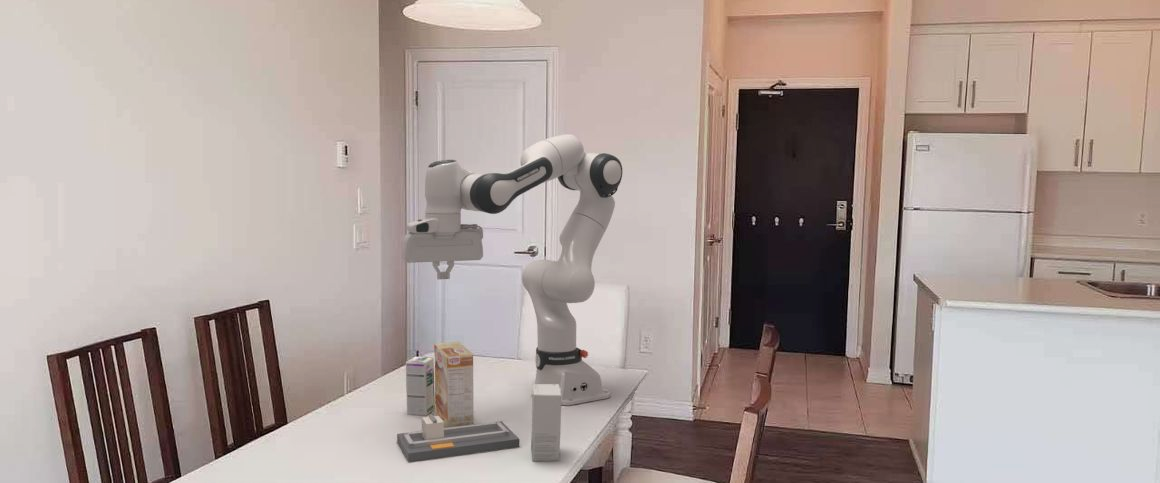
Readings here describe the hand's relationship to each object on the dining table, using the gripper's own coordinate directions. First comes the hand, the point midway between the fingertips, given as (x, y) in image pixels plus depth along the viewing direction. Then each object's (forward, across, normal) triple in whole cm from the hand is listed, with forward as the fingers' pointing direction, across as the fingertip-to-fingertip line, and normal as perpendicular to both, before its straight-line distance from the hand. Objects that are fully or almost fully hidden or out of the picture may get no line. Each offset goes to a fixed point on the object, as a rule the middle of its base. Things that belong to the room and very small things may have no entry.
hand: (443, 279), depth 201 cm
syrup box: (+37, +4, -10) cm, 39 cm away
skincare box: (+37, -16, +32) cm, 52 cm away
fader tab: (+35, +7, +18) cm, 40 cm away
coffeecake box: (+37, -2, +2) cm, 37 cm away
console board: (+37, +1, +18) cm, 41 cm away
